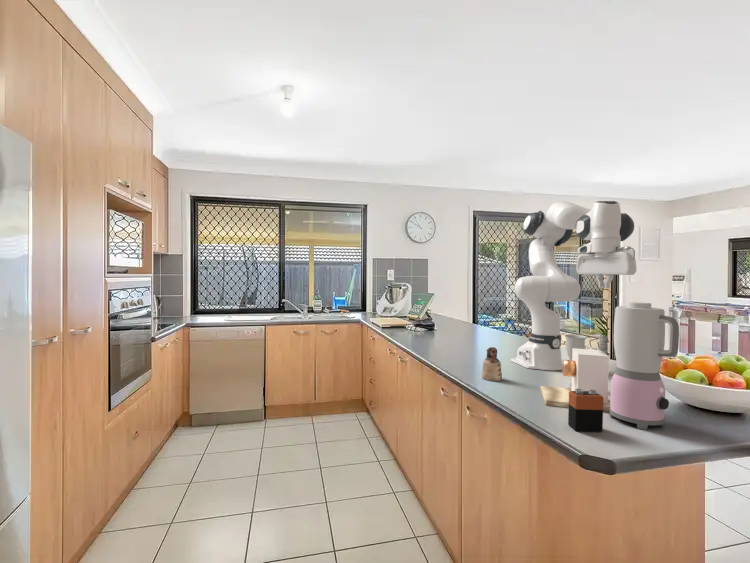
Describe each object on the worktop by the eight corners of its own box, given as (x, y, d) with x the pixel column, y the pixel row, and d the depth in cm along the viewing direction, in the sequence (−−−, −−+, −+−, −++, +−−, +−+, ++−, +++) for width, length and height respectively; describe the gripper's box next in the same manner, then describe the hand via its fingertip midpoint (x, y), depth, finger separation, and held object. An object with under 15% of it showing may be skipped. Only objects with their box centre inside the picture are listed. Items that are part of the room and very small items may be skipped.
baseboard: (545, 405, 115) (545, 400, 115) (540, 390, 131) (540, 385, 131) (614, 412, 110) (614, 407, 110) (600, 396, 125) (600, 391, 125)
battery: (567, 425, 100) (568, 387, 100) (593, 425, 100) (594, 387, 100) (575, 432, 96) (576, 392, 96) (603, 432, 96) (604, 392, 95)
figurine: (501, 377, 147) (501, 345, 147) (502, 382, 140) (503, 349, 140) (481, 375, 149) (482, 344, 149) (482, 380, 142) (483, 348, 142)
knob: (564, 377, 119) (565, 361, 119) (562, 373, 123) (562, 358, 123) (598, 380, 116) (599, 364, 116) (594, 376, 121) (595, 360, 121)
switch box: (577, 400, 115) (578, 354, 115) (571, 391, 125) (572, 348, 125) (607, 403, 113) (608, 356, 113) (599, 393, 123) (600, 350, 122)
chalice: (588, 391, 130) (589, 338, 130) (566, 389, 132) (567, 337, 131) (581, 385, 138) (582, 335, 137) (560, 383, 139) (562, 334, 139)
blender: (598, 416, 107) (601, 301, 106) (627, 410, 112) (630, 300, 111) (660, 438, 92) (663, 306, 92) (689, 431, 97) (693, 305, 97)
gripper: (641, 246, 123) (640, 289, 123) (586, 249, 142) (585, 286, 142) (627, 245, 121) (626, 289, 121) (573, 249, 140) (572, 286, 140)
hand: (604, 288), depth 132 cm, fingers closed
